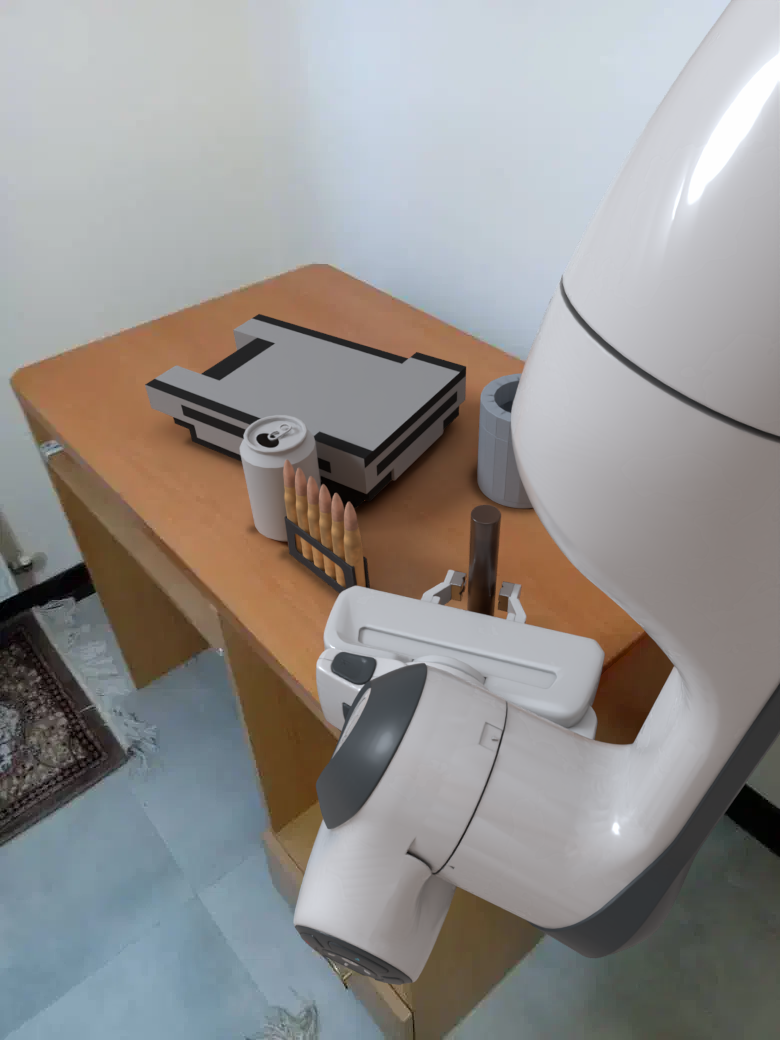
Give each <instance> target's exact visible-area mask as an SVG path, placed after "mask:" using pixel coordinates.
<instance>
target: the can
mask: <svg viewBox="0 0 780 1040" xmlns="http://www.w3.org/2000/svg"><path fill="white" fill-rule="evenodd" d="M240 454H241V459H242V462H241V464H242V468H243V473H244V479H245V484H246V488H247V493H248V498H249V499H248V500H249V503H250V508H251V513H252V517H253V523H254V527H255V528H256V530H257V531H258V533H259V534H261V535H262V536H264V537H265V538H268V539H272V540H274V541H278V542H288V540H287V533H286V526H285V519H284V517H285V516H287V511H286V505H285V499H284V495H285V488H284V477H283V470H284V463H285V461H286V459H288V460H289V461H290V463H291V465H292V467H293V469H294V472H295V475H296V471H297V468H301V470H302V471H303V473H304V475H305V478H306V481H307V484H308V480H309V477H310V476H312V477H313V478H314V479H315V481H316V483H317V485H318V489H319V492H320V489H321V483H320V475H319V467H318V459H317V451H316V443H315V439H314V436H313V435H312V434H311V432H310V431H309V430H307V427H306V425H305V424H304V423H303V422H302V421H301V420H299V419H297V418H295V417H292V416H287V415H274V416H268V417H265V418H262V419H259V420H257V421H255V422H254V423H252V424H251V425H250V426H249V427H248V428H247V429H246V430H245V433H244V439H243V441H242V443H241V445H240Z"/></svg>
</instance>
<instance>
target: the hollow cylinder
mask: <svg viewBox="0 0 780 1040" xmlns="http://www.w3.org/2000/svg"><path fill="white" fill-rule="evenodd" d="M521 375H522V373H512V374H507V375H503V376H500V377H497V378H494V379H493V380H490V382H488V383H487V384H486V385H485V386H483V389H482V390H481V393H480V397H479V398H480V399H479V401H480V402H479V423H478V424H479V425H478V443H477V444H478V447H477V468H476V473H477V479H476V481H477V485H478V487H479V490H480V491H481V492H482V494H483V495H484V496H486V497H487V499H489V500H490V501H492V502H494V503H496V504H498V505H502V506H504V507H508V508H513V509H534V508H533V506H532V504H531V502H530V500H529V497H528V495H527V493H526V490H525V488H524V485H523V483H522V480H521V478H520V475H519V471H518V468H517V464H516V459H515V455H514V450H513V444H512V433H511V410H512V405H513V401H514V398H515V395H516V391H517V387H518V384H519V381H520V378H521Z"/></svg>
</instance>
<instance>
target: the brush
mask: <svg viewBox="0 0 780 1040" xmlns="http://www.w3.org/2000/svg"><path fill="white" fill-rule="evenodd" d="M469 521H470V523H469V527H470V528H469V548H468V549H469V550H468V573H467V600H466V602H467V604H466V605H467V606H466V610H467V611H471V612H476V613H480V614H485V615H489V616H493V617H495V609H496V595H497V582H498V581H497V579H498V565H499V551H500V537H501V523H502V513H501V511H500V510H499V509H498V507H496V506H494V505H491V504H479V505H476V506H475V507H474V508H473V509H471V511H470V520H469Z"/></svg>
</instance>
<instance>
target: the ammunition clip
mask: <svg viewBox="0 0 780 1040" xmlns="http://www.w3.org/2000/svg"><path fill="white" fill-rule="evenodd" d="M283 477H284V488H285V495H284V499H285V505H286V511H287V516H285V517H284V519H285V526H286V533H287V540H288V541H287V547H288V553H289V555H291V556H292V557H293V558H294V559H295V560H297V562H299V563H301V564H302V565H303V566H304V567H306V568H307V569H308V570H309V571H310V572H312V573H313V574H314V575H316V576H317V577H318V578H320V579H321V580H322V582H325V583H326V584H327V585H328V586H330V587H331V588H332V589H334V591H336V592H337V593H338V594H340V593H341V592H342V591H344V590H346V589H348V588H350V587H353V586H361V587H365V588H370V589H371V584H370V575H369V567H368V566H369V565H368V559H367V557H366V556H364V551H363V550H364V549H363V541H362V540H363V539H362V535H361V533H360V528H359V523H358V516H357V512H356V509H355V508H354V507H353V505H352V504H351V503H350V502H348V503H347V505H346V504H345V507H344V503H342V501H341V498H340V496H339V495H338V494H337V493H335V494H334V496H333V499H331V496H330V493H329V491H328V489H327V487H326V486H325V485H324V484H323V485H322V486H321V489H320V492H319V489H318V485H317V483H316V481H315V479H314V478H313V477H312V476H310V477H309V480H308V484H307V481H306V478H305V475H304V473H303V471H302V470H301V468H297V471H296V475H295V472H294V469H293V467H292V465H291V463H290V461H289V460H288V459H286V461H285V463H284V470H283Z"/></svg>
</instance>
